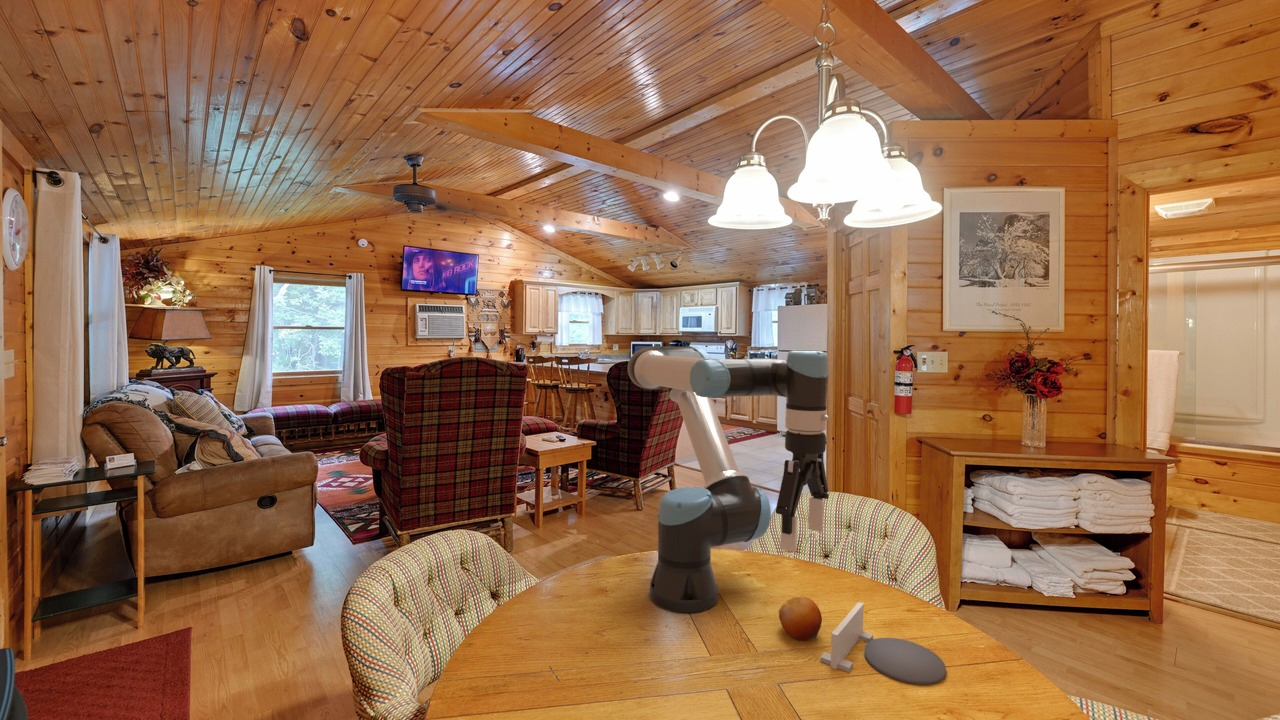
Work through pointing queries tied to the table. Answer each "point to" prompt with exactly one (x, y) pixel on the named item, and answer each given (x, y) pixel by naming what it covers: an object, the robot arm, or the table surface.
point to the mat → (905, 661)
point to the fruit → (800, 618)
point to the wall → (846, 639)
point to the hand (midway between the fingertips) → (802, 539)
